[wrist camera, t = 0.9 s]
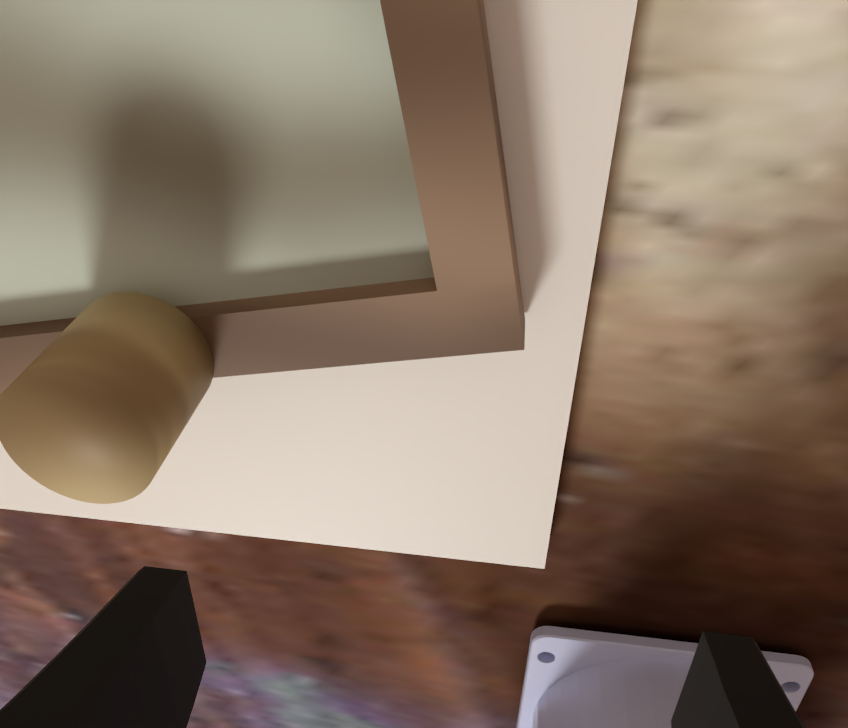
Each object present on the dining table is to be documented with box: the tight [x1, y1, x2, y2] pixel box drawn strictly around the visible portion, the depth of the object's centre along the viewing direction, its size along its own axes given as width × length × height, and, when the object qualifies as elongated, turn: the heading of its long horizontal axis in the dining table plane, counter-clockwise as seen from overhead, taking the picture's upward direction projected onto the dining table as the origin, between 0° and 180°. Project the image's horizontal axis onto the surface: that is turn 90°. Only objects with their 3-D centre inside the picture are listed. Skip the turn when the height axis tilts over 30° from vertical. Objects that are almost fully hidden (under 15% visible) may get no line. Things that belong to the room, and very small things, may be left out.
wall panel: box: [0, 0, 638, 569], centre depth 16 cm, size 20×21×1 cm
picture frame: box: [0, 0, 525, 504], centre depth 14 cm, size 11×16×4 cm
